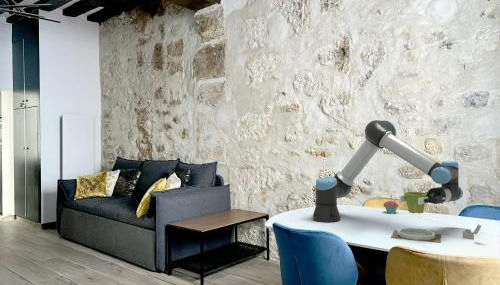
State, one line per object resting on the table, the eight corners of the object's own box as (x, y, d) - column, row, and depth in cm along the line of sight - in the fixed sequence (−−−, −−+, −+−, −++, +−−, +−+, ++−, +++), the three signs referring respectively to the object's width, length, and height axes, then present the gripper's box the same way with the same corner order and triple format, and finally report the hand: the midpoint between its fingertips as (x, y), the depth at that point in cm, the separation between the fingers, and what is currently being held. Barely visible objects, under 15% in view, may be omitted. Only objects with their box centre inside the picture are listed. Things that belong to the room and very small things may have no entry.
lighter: (462, 241, 168) (462, 223, 168) (463, 240, 170) (463, 222, 169) (481, 244, 164) (481, 225, 164) (481, 243, 165) (481, 224, 165)
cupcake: (399, 214, 229) (399, 194, 229) (384, 213, 230) (384, 193, 230) (397, 211, 237) (396, 192, 237) (382, 211, 239) (382, 192, 239)
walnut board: (390, 241, 170) (390, 237, 170) (394, 233, 184) (394, 230, 184) (440, 246, 160) (440, 243, 160) (441, 237, 175) (441, 234, 175)
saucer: (396, 238, 169) (396, 234, 169) (400, 230, 182) (400, 227, 182) (434, 242, 162) (434, 237, 162) (435, 234, 175) (435, 230, 175)
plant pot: (417, 215, 166) (417, 195, 166) (399, 211, 174) (399, 192, 174) (432, 213, 170) (431, 193, 170) (414, 209, 178) (413, 191, 178)
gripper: (461, 206, 173) (431, 212, 161) (418, 200, 191) (388, 205, 178) (461, 189, 173) (431, 194, 161) (418, 185, 191) (388, 189, 178)
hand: (409, 200), depth 169 cm, fingers closed on plant pot, 8 cm apart
